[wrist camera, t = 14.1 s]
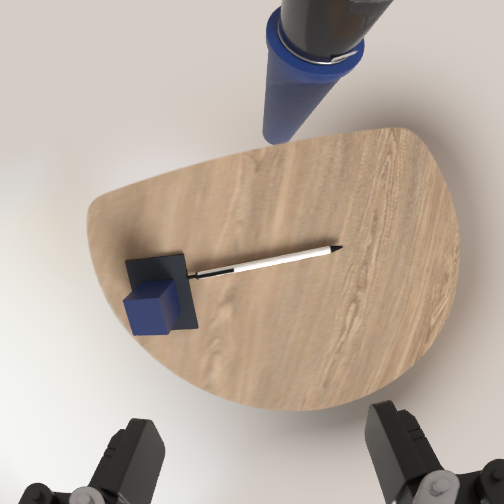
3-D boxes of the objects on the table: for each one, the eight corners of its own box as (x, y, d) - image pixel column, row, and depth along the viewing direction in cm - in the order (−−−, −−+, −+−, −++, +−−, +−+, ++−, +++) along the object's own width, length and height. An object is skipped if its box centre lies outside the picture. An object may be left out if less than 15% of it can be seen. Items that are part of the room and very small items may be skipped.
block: (141, 281, 35) (122, 300, 29) (174, 278, 35) (158, 297, 29) (149, 313, 36) (133, 335, 30) (181, 311, 36) (168, 335, 30)
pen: (186, 273, 35) (184, 276, 34) (342, 241, 33) (344, 244, 32) (188, 280, 35) (186, 283, 34) (343, 249, 34) (345, 251, 33)
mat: (126, 260, 35) (125, 261, 34) (183, 253, 34) (183, 254, 34) (144, 329, 37) (143, 331, 37) (198, 327, 37) (198, 328, 36)
